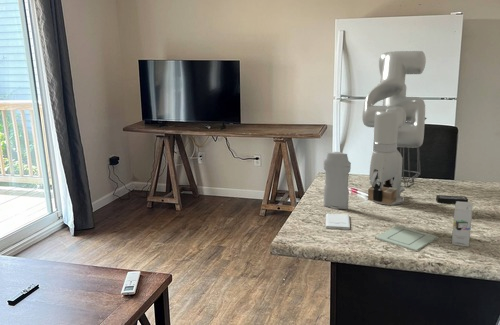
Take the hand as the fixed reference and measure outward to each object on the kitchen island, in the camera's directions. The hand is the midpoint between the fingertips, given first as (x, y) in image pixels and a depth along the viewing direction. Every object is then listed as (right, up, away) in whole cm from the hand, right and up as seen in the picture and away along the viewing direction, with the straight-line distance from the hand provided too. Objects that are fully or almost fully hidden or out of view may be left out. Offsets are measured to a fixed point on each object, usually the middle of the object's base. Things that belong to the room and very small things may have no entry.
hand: (382, 197), depth 154 cm
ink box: (+21, -13, -13) cm, 27 cm away
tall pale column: (-12, -5, +20) cm, 24 cm away
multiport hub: (+34, -4, +23) cm, 41 cm away
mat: (+4, -12, -10) cm, 17 cm away
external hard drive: (-15, -10, +4) cm, 18 cm away
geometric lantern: (+22, +2, +49) cm, 54 cm away
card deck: (0, -1, 0) cm, 1 cm away
